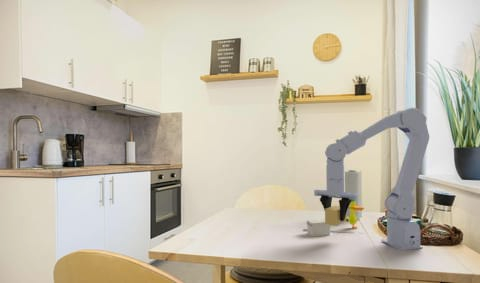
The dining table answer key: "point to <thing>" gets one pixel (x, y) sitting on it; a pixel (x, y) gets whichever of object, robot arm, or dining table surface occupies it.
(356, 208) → the toy figure
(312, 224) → the cream brick
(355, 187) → the paper towel roll
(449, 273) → the dining table surface
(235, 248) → the dining table surface
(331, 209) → the ochre brick
